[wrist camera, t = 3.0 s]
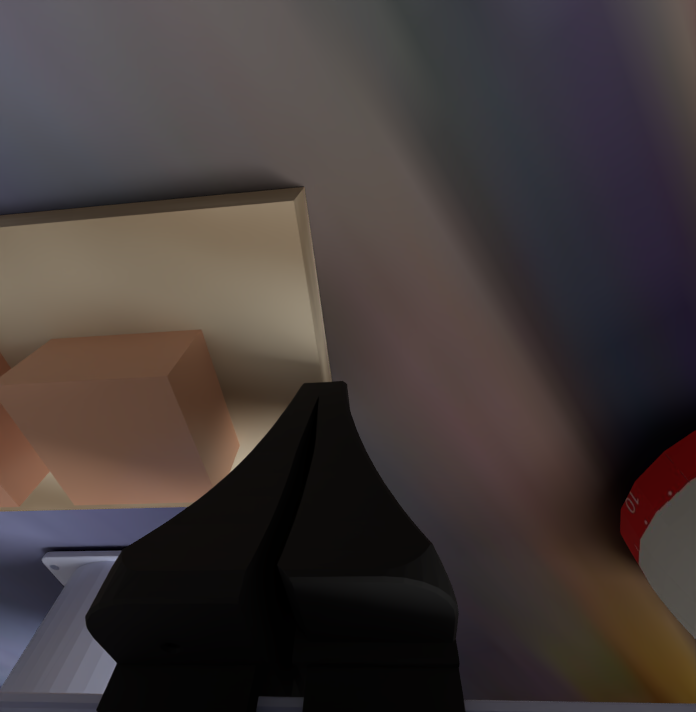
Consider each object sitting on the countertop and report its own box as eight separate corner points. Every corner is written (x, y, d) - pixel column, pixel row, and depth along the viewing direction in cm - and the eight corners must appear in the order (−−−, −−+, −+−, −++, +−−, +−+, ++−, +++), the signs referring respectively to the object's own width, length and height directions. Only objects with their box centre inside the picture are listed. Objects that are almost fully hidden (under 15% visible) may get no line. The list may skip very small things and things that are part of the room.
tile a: (239, 445, 15) (219, 501, 13) (114, 450, 15) (74, 505, 13) (201, 329, 12) (166, 375, 10) (51, 338, 13) (-12, 385, 11)
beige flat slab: (343, 465, 18) (341, 503, 16) (-52, 478, 20) (-91, 513, 18) (304, 186, 12) (294, 201, 10) (-275, 240, 13) (-366, 260, 12)
